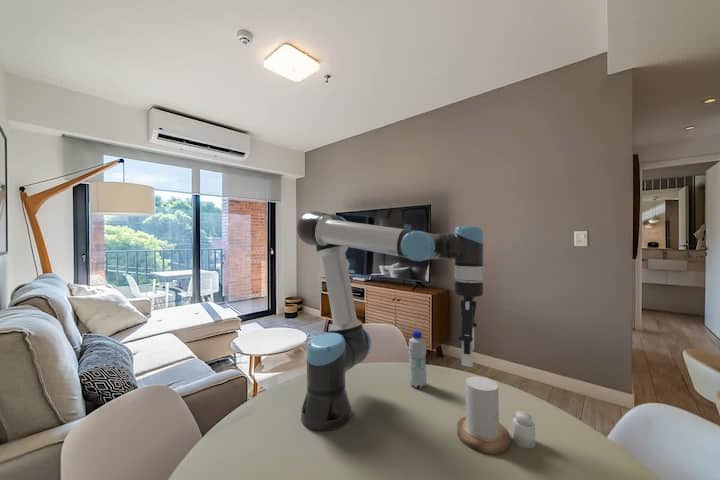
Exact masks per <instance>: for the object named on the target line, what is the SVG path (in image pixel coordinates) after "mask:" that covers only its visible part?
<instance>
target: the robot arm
mask: <svg viewBox="0 0 720 480" xmlns="http://www.w3.org/2000/svg"><path fill="white" fill-rule="evenodd" d="M296 233H297V236H298V237H299V239H300V240H301V241H302V242H303V243H304V244H307V245H310V246H315V248H316V254H318V255H319V256H320V257H321V258H322V265H323V271H324V272H323V273H324V277H325V278H324V279H325V282H326V283H325V284H326V289H327V295H328V301H329V308H330V314H331V319H332V325H331V326H330V327H329V332H327V333H324V334H318V335H316V336H314V337H312V338H311V339H310V340H309V342H308V344H307V351H306V383H307V384H306V386H307V390H306V394H305V397H304V401H303V403H302V407H301V413H300V415H301V417H300V418H301V419H300V420H301V423H302V424H303V425H304V426H305V427H306V426H307V427H306V428H309V429H311V430H314V431H320V432H323V431H326V432H327V431H332V430H337V429H338V428H341V427H343V426H345V425H346V424H348V422H349V421H350V419H351V418H352V405H351V402H350V400H349V395H348V393H347V389H346V373H347V372H348V371H350V370H351V369H352V368H353V367H355V366H357V365H359V364H360V363H362V362H363V361H364V360H365V358H367V357H368V355H369V354H370V352H371V350H372V349H371V348H372V339H371V336H370V334H369V332H368V331H366V329H365V328H364V326H363V323H362V321H361V320H360V319H359V318H357V313H356V306H355V301H354V296H353V290H352V285H351V278H350V273H349V268H348V261H347V256H346V255H347V254H346V252H347V251H348V249H349V248H352V249H358V250H362V251H369V252H373V253H380V254H385V255H391V256H396V257H401V258H406V259H408V260H411V261H414V262H424V261H427V260H429V261H430V260H454V279H455V280H456V281H454V294H456V295H457V296H463V299H462V300H461V301H460V308H461V309H460V316H461V336H458V341H461V366H465V367H471V368H473V367H474V362H473V360H474V359H473V358H474V350H475V327H477V322H475V318H476V310H477V301H476V300H475V297H476V298H478V297H482V296H483V295H484V283H483V282H481V281H483V279H484V277H483V276H484V274H486V270H485V269H484V268H483V266H484V235H483V234H484V233H483V229H482V227H479V226H476V225H475V226H473V225H472V226H471V225H469V226H468V225H467V226H464V225H462V226H456V227H455V228H454V232H453V233H433V232H432V233H431V232H426V231H424V230H423V231H422V230H414V229H413V230H412V229H403V228H397V227H391V226H383V225H375V224H370V223H360V222H353V221H347V219H345V218H344V217H343V216H339V215H338V214H334V213H332V214H331V213H326V212H320V211H309V212H306V213H303V215H302V216H300V218H299V219H298V221H297V225H296Z"/></svg>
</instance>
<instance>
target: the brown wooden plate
mask: <svg viewBox="0 0 720 480" xmlns="http://www.w3.org/2000/svg"><path fill="white" fill-rule="evenodd" d="M456 424H457V425H456V426H457V427H456V430H457V431H456V432H457V433H456V434H457V436H458V439H459V440H460V441H461V443H463V444H464V445H465V446H466V447H468V449H469V448H470V449H472V450H473V451H476V452H478V453H482V454H486V455H501V454H504V453H506V452H507V451H509V450H510V447H511V435H510V432H509V431H508V429H507V427H505V425H503V424H502V423H500V422H499V435H498V436H497V437H496V438H491V439H487V438H481V437H478V436H476V435H474V434H472V433H471V432H470V431H469V430H468V429H467V426H466V416H463V417H461V418H460V419H459V420H458V421H457V423H456Z"/></svg>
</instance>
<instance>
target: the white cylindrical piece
mask: <svg viewBox="0 0 720 480" xmlns="http://www.w3.org/2000/svg"><path fill="white" fill-rule="evenodd" d="M499 400H500V399H499V384H498V383H497V382H496V381H494V380H492V379H490V378H488V377H484V376H470V377H467V378H466V379H465V417H466V426H467V429H468V430H469V431H470V432H471V433H472V434H474V435H476V436H478V437H481V438H487V439H491V438H496V437H497V436H498V435H499V423H500V407H499V406H500V405H499Z"/></svg>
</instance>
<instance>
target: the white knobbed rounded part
mask: <svg viewBox="0 0 720 480" xmlns="http://www.w3.org/2000/svg"><path fill="white" fill-rule="evenodd" d="M512 428H513V429H512V431H513V432H512V434H513V435H512V436H513V442H514V443H515V444H516V445H517V446H520V447H521V448H524V449H529V450H531V449H534V448H536V425H535V422H534V421H533V419H532V415H531V414H530V413H528V412H526V411H523V410H517V411H516V412H515V417H513V418H512Z"/></svg>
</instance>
